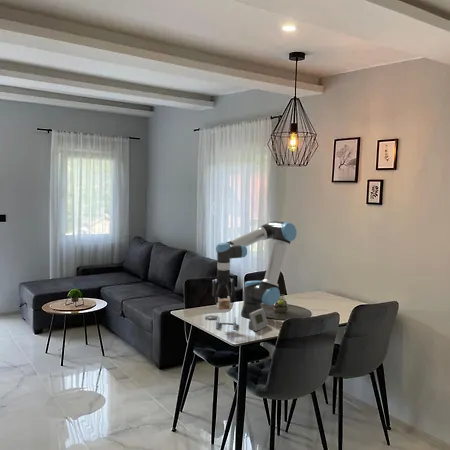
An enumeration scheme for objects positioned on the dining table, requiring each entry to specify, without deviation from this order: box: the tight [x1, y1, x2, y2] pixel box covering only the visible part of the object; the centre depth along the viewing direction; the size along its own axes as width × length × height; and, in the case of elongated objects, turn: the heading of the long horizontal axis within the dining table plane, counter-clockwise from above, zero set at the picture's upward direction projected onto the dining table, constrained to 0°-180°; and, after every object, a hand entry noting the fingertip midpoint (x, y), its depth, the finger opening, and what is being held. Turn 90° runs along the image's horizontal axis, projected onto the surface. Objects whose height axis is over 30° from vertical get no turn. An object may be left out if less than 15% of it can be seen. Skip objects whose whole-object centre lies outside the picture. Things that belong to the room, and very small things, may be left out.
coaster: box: [204, 315, 219, 321], centre depth 295 cm, size 9×9×1 cm
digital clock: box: [248, 308, 269, 332], centre depth 274 cm, size 16×9×11 cm, turn 136°
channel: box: [215, 316, 237, 330], centre depth 277 cm, size 11×12×4 cm
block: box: [218, 297, 231, 311], centre depth 273 cm, size 6×6×5 cm
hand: (223, 307), depth 272 cm, fingers closed on block, 6 cm apart
